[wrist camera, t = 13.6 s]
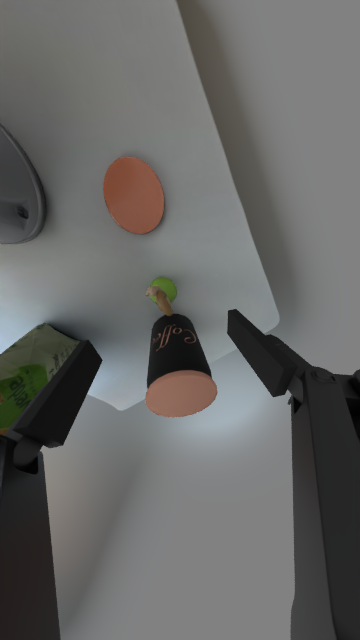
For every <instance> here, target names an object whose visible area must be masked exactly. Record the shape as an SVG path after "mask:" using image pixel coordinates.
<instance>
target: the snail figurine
mask: <svg viewBox="0 0 360 640" xmlns="http://www.w3.org/2000/svg"><path fill="white" fill-rule="evenodd" d="M176 294H177V289H176V286H175V284H174V283H173V281H172V280H170V279H168V278H165V277H160V278H157V279H155V280H154V281H153V282H152V283H151V285H150V287H149V288H148V289H147V292H146V293H145V295H146V296H149V295H150V297H151V299H152V300H153V301H154V302H155V303H157V304H158V306H159V308H160V309H161V311H162V312H163V313H164V314H165V315H167V316H171V315H172V314H173V310H172V306H171V302H173V300H174V299H175V297H176Z"/></svg>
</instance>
